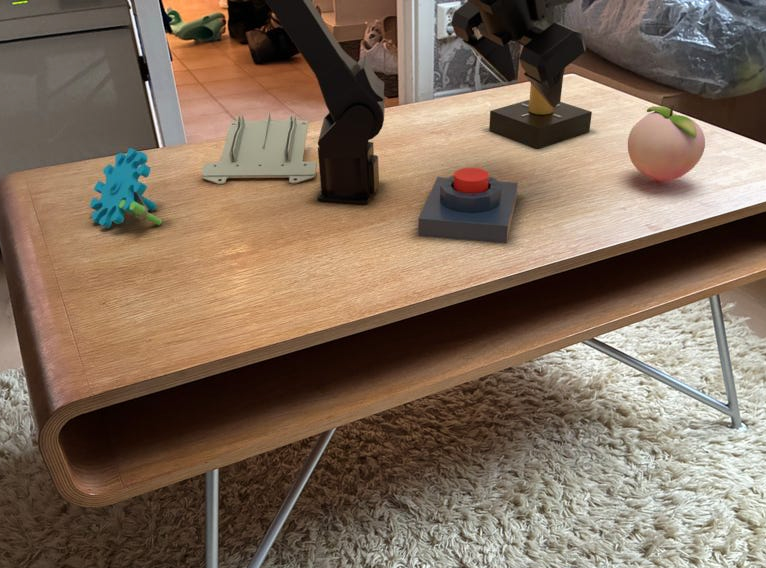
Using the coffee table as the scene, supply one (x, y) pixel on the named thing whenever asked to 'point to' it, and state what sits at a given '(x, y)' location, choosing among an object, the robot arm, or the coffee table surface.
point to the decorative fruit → (665, 144)
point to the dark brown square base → (539, 123)
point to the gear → (123, 191)
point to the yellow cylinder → (538, 103)
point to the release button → (471, 180)
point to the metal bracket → (263, 151)
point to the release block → (469, 212)
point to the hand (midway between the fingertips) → (533, 91)
